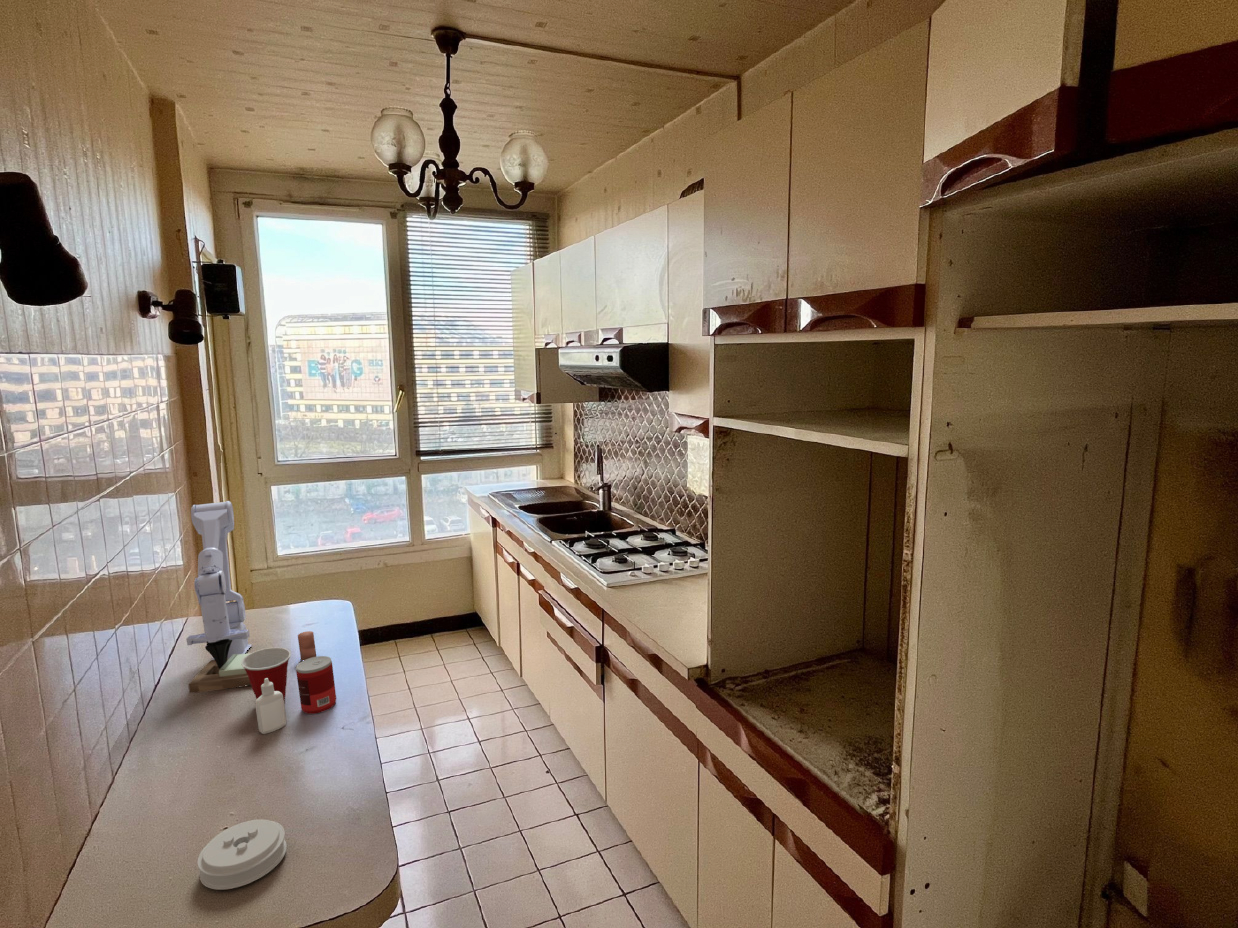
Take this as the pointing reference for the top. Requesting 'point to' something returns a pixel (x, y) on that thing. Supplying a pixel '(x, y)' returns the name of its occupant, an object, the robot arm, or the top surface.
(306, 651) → the pin
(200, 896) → the top surface
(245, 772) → the top surface
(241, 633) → the robot arm
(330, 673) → the canned food
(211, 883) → the lid
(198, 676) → the board
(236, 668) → the cover
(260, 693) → the plastic cup
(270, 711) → the eye dropper bottle
